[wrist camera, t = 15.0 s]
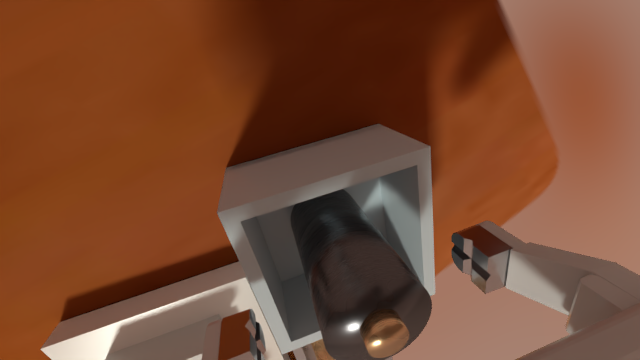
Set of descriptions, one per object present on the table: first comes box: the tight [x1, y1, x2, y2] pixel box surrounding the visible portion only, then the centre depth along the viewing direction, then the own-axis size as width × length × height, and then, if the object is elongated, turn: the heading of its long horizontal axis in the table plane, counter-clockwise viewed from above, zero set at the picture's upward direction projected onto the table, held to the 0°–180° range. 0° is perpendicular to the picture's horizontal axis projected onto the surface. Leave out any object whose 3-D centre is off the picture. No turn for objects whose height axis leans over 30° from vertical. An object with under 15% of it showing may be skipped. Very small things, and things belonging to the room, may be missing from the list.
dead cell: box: [290, 189, 432, 360], centre depth 12 cm, size 4×4×8 cm
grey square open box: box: [217, 124, 435, 354], centre depth 13 cm, size 8×8×4 cm
